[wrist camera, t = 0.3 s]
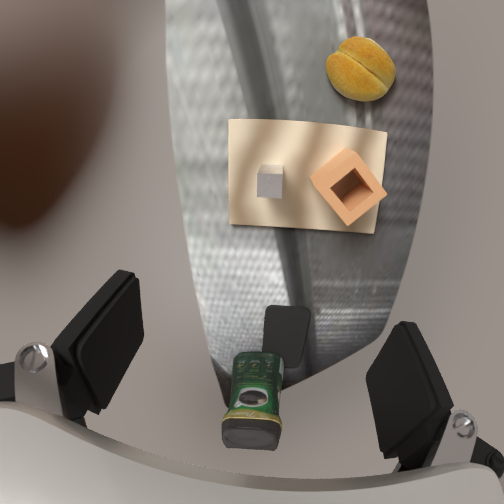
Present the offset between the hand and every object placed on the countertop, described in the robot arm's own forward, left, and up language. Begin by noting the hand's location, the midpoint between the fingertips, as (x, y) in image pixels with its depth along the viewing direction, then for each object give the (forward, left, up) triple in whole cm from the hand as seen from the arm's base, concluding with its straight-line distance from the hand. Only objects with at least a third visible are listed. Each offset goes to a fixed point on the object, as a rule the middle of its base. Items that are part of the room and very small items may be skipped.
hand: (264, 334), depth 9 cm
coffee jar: (+19, +30, -29) cm, 46 cm away
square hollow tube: (-7, +4, -28) cm, 29 cm away
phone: (+12, +26, -29) cm, 41 cm away
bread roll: (-16, -8, -29) cm, 34 cm away
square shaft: (+1, -1, -28) cm, 28 cm away
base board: (-3, +2, -29) cm, 29 cm away
